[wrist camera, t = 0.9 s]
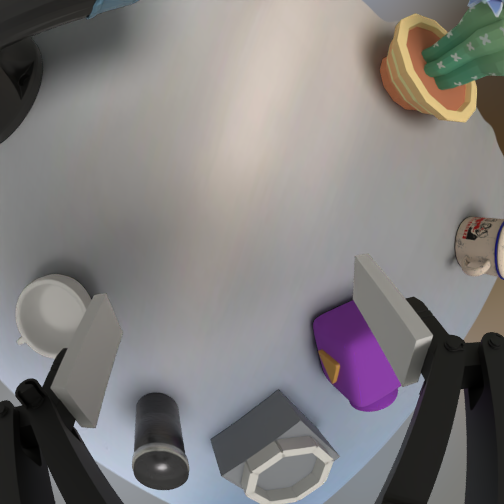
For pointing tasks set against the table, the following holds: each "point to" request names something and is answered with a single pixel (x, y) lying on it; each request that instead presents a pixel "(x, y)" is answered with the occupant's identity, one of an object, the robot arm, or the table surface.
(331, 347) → the toy camera
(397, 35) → the potted cactus
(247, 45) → the table surface
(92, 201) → the table surface
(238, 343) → the table surface
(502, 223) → the teacup with lid
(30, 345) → the teacup
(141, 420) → the lens
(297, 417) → the camera body block
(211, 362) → the table surface
